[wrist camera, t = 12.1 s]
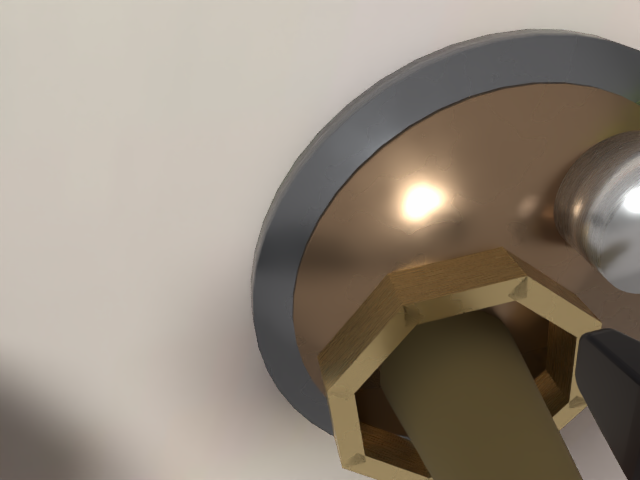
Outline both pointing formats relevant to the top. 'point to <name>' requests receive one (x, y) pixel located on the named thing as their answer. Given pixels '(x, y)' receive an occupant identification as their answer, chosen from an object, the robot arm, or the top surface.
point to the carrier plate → (455, 227)
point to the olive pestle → (473, 403)
